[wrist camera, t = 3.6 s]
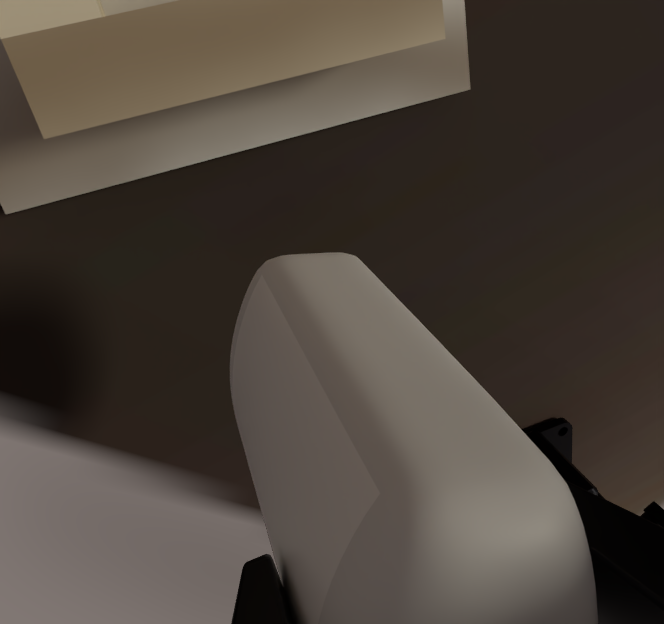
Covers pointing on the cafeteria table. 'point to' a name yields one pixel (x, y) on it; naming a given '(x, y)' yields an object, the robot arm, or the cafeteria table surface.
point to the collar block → (201, 80)
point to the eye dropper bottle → (393, 464)
